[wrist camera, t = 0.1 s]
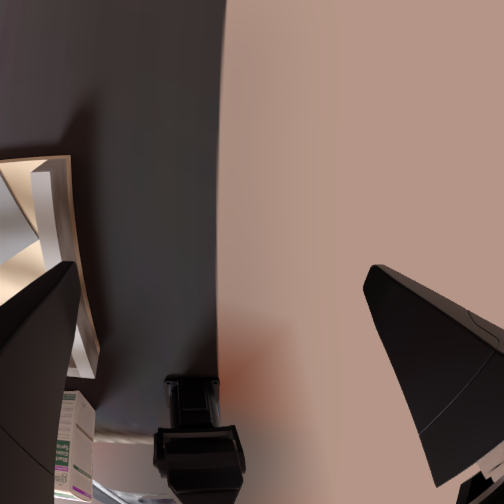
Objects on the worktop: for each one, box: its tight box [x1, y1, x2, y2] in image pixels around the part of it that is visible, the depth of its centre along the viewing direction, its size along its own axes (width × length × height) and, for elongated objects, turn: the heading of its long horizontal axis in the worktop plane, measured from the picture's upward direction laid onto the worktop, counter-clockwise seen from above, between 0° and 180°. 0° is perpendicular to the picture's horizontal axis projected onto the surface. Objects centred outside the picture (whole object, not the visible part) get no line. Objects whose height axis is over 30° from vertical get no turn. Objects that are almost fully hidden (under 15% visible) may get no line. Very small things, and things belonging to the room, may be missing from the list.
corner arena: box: [0, 155, 100, 379], centre depth 20 cm, size 20×13×4 cm, turn 171°
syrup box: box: [54, 390, 95, 503], centre depth 27 cm, size 6×6×14 cm
